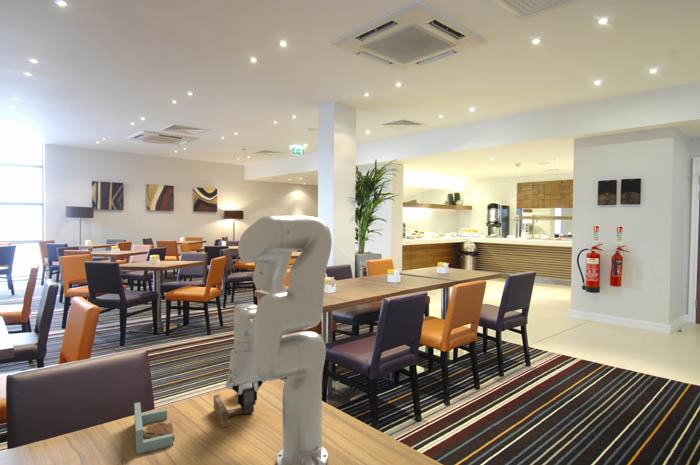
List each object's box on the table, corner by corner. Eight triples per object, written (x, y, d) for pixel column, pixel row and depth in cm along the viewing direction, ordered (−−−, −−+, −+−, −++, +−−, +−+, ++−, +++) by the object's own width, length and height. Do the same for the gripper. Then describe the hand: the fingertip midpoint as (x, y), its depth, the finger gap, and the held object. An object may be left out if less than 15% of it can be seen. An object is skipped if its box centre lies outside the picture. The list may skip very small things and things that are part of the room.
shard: (174, 443, 110) (174, 436, 110) (142, 451, 106) (142, 444, 106) (171, 425, 119) (171, 419, 119) (142, 431, 116) (142, 425, 116)
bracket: (173, 445, 108) (172, 422, 108) (136, 454, 104) (136, 430, 104) (166, 416, 124) (166, 397, 123) (134, 423, 119) (134, 403, 119)
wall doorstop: (258, 418, 121) (258, 397, 121) (222, 427, 116) (222, 404, 116) (246, 401, 133) (246, 381, 133) (213, 408, 128) (213, 387, 128)
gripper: (268, 338, 133) (269, 394, 134) (216, 345, 125) (217, 405, 126) (276, 344, 126) (276, 403, 127) (222, 352, 119) (222, 415, 119)
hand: (247, 403), depth 126 cm, fingers closed on wall doorstop, 2 cm apart
